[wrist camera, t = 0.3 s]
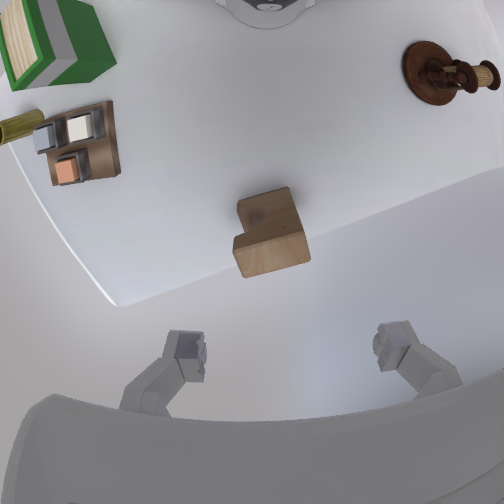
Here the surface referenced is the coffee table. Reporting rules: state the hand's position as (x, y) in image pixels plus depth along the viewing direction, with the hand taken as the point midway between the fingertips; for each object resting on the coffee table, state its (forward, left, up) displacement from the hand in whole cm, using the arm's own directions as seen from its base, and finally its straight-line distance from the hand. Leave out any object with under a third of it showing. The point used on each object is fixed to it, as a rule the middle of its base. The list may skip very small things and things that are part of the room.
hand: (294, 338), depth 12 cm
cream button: (-8, -34, -42) cm, 54 cm away
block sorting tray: (-4, -39, -47) cm, 61 cm away
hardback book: (-27, -35, -47) cm, 65 cm away
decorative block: (+13, +1, -47) cm, 49 cm away
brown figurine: (-20, +36, -47) cm, 63 cm away
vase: (-12, -53, -47) cm, 72 cm away
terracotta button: (0, -39, -42) cm, 57 cm away
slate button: (-8, -44, -42) cm, 61 cm away
